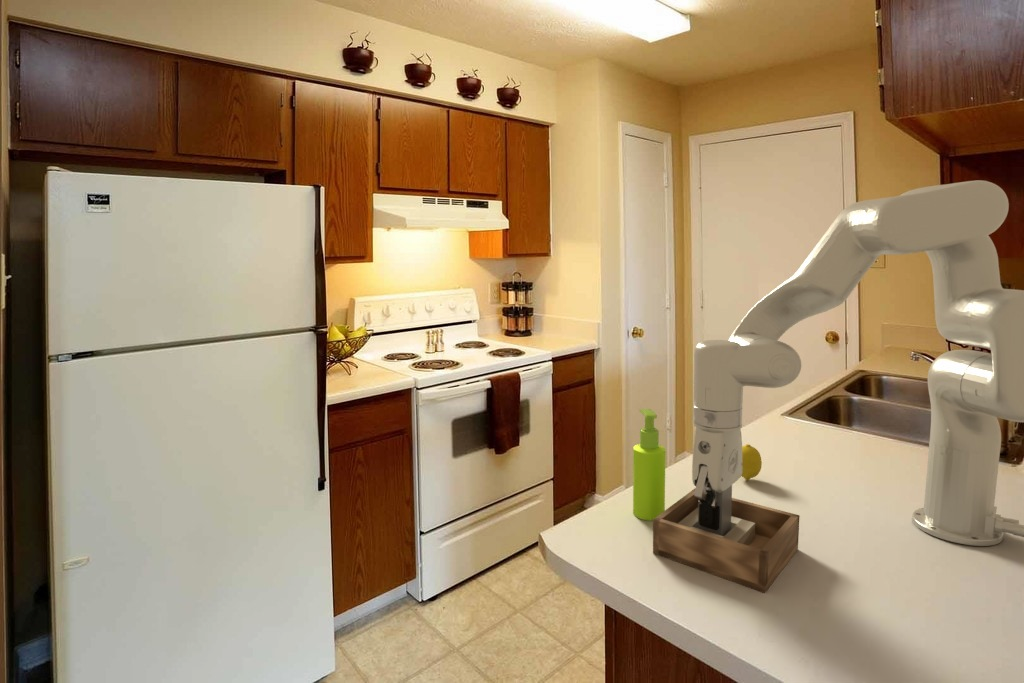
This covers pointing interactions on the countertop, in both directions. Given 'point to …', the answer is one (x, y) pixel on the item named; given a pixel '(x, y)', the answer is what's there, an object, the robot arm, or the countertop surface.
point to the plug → (721, 512)
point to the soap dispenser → (648, 471)
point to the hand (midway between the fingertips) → (714, 521)
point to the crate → (729, 541)
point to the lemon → (750, 462)
